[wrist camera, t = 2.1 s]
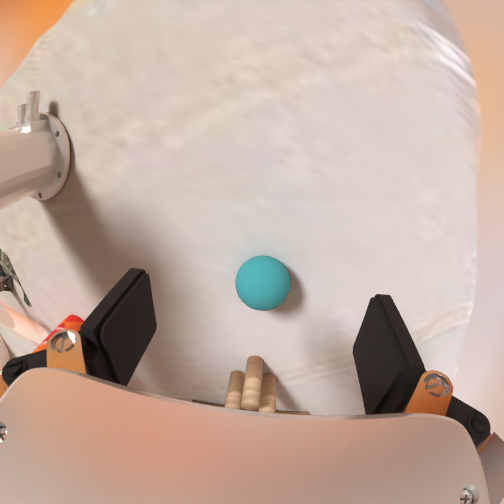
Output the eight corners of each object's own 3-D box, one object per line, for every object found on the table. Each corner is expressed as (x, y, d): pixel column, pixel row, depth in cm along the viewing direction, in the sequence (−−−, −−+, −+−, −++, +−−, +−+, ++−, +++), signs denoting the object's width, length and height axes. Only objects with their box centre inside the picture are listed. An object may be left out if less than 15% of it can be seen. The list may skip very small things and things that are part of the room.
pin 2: (262, 373, 41) (258, 417, 34) (277, 374, 41) (275, 418, 34) (261, 382, 42) (257, 424, 35) (275, 383, 42) (273, 426, 35)
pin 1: (230, 369, 42) (222, 412, 34) (245, 371, 42) (239, 415, 34) (230, 378, 43) (222, 420, 35) (245, 380, 43) (239, 422, 35)
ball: (240, 244, 32) (232, 269, 27) (292, 249, 32) (295, 275, 26) (238, 288, 35) (231, 318, 29) (286, 293, 34) (287, 324, 29)
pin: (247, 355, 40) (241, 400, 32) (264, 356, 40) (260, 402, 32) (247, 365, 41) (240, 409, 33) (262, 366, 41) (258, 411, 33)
